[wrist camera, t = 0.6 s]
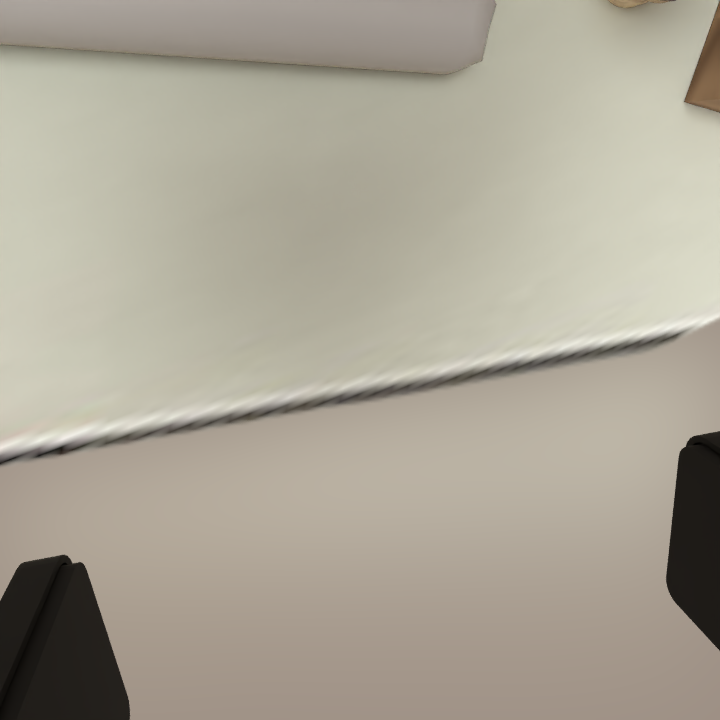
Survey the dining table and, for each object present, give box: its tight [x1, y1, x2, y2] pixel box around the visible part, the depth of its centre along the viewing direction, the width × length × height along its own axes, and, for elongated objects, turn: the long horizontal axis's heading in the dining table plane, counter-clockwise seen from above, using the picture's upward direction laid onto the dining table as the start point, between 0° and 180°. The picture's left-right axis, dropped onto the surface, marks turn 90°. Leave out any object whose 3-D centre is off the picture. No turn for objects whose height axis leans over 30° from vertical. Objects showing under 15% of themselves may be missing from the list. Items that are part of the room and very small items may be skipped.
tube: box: [0, 0, 496, 74], centre depth 29 cm, size 5×5×25 cm
